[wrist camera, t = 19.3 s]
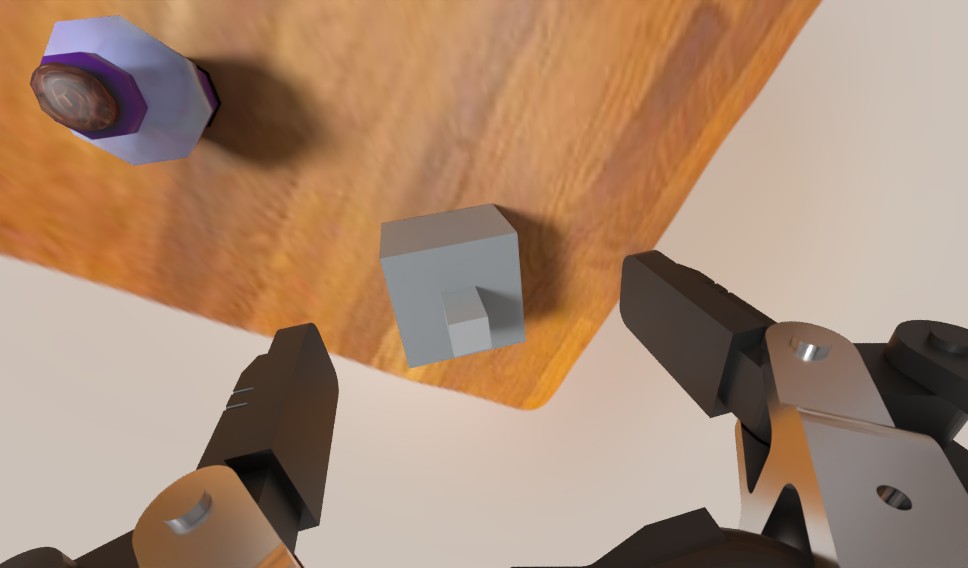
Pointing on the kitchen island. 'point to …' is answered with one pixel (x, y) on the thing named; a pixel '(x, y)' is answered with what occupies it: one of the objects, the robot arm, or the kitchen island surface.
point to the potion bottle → (124, 90)
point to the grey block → (453, 283)
